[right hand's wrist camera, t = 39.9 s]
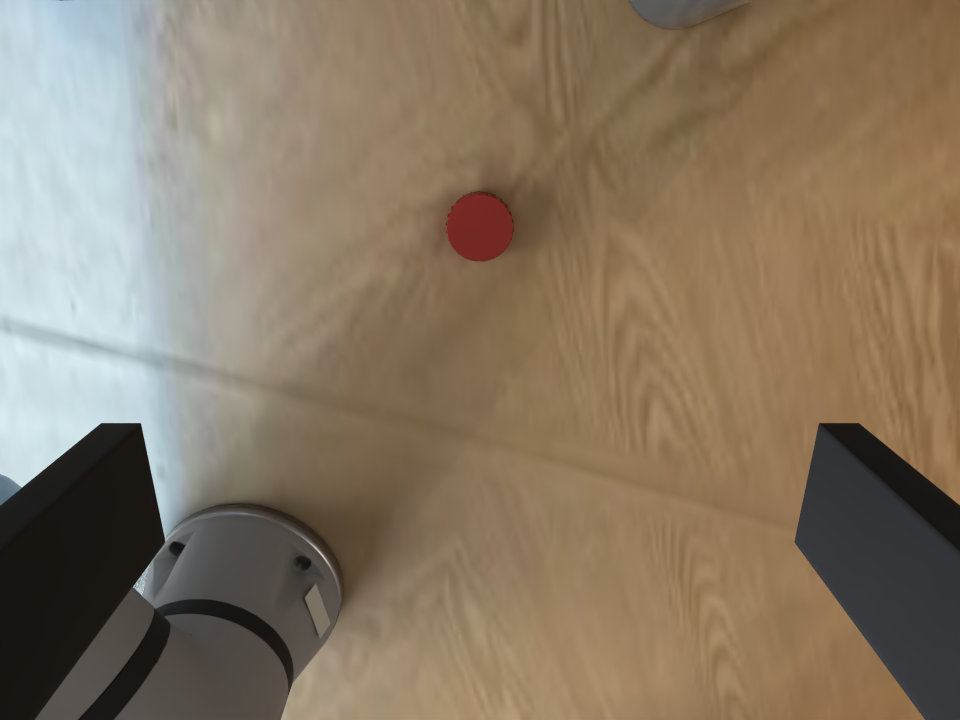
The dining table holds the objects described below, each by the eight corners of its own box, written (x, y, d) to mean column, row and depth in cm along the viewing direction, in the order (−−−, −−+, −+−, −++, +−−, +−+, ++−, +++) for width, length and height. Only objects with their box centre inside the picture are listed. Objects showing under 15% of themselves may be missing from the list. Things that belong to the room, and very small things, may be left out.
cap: (512, 189, 42) (513, 192, 41) (512, 256, 44) (514, 261, 42) (445, 191, 42) (444, 194, 41) (448, 258, 44) (447, 263, 42)
